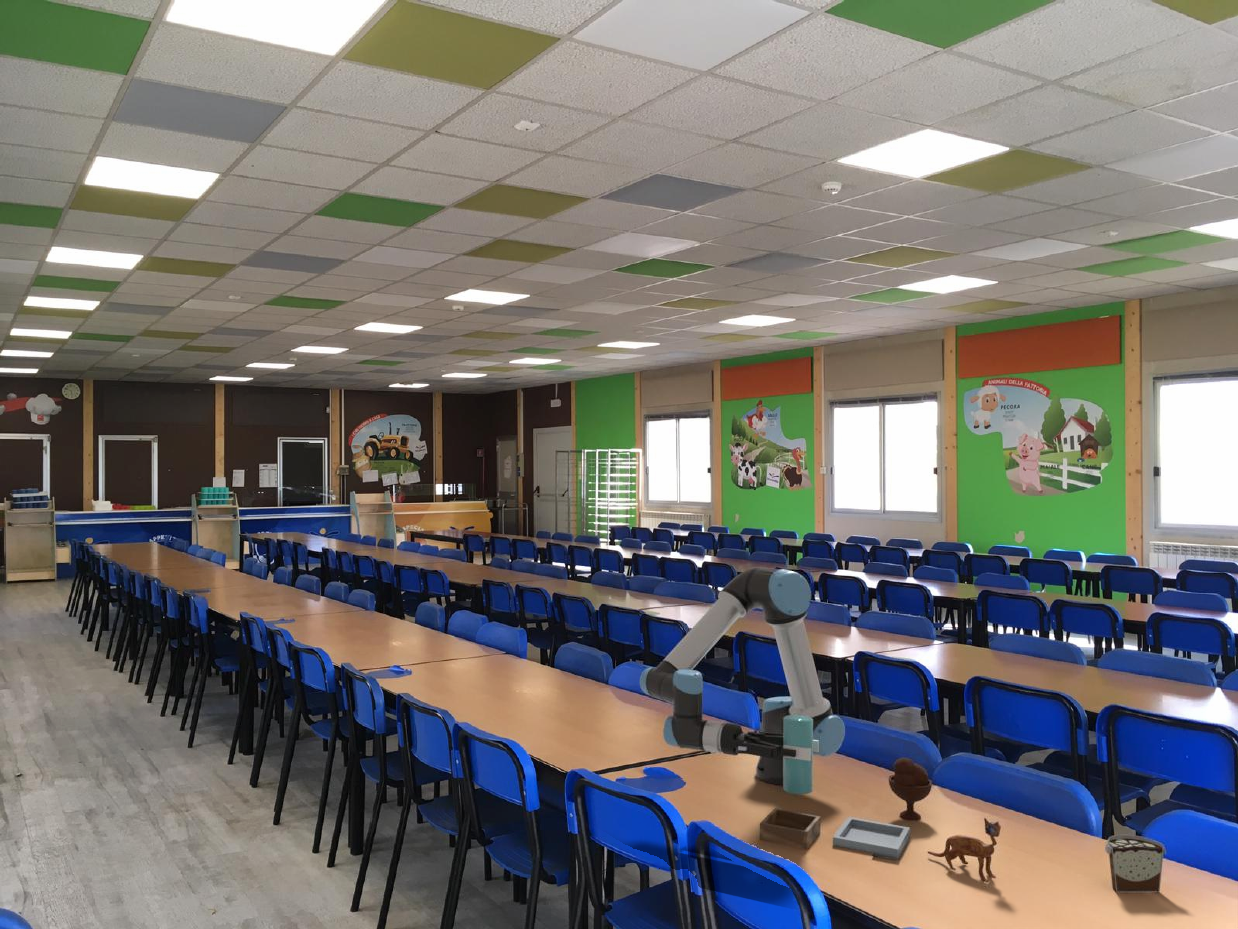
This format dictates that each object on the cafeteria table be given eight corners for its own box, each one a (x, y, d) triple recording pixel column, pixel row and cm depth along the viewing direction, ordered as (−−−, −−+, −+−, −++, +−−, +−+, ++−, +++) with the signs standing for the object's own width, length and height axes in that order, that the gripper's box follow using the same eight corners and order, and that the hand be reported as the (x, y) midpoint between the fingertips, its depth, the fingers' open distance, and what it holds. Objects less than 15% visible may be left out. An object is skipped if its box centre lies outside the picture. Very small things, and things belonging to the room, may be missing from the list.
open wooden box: (774, 826, 229) (774, 808, 229) (820, 835, 223) (820, 816, 223) (759, 842, 218) (759, 823, 218) (807, 851, 213) (807, 832, 213)
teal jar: (787, 783, 225) (787, 713, 225) (815, 787, 222) (816, 717, 222) (779, 791, 219) (780, 720, 219) (808, 796, 216) (808, 724, 216)
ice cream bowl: (904, 827, 229) (904, 766, 229) (880, 811, 240) (880, 754, 240) (941, 823, 232) (941, 763, 232) (915, 807, 242) (915, 751, 243)
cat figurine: (919, 861, 208) (919, 802, 209) (934, 853, 213) (934, 796, 213) (993, 887, 195) (993, 824, 195) (1007, 879, 199) (1007, 817, 200)
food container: (1148, 879, 199) (1148, 833, 199) (1166, 892, 193) (1166, 844, 193) (1093, 880, 199) (1093, 833, 199) (1109, 892, 193) (1109, 845, 193)
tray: (848, 826, 229) (848, 816, 229) (910, 838, 222) (910, 827, 222) (832, 847, 215) (832, 837, 215) (898, 860, 208) (898, 849, 208)
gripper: (736, 743, 238) (824, 755, 228) (709, 764, 220) (803, 778, 210) (736, 714, 238) (824, 725, 228) (710, 732, 220) (804, 745, 210)
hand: (814, 750), depth 219 cm, fingers closed on teal jar, 7 cm apart
